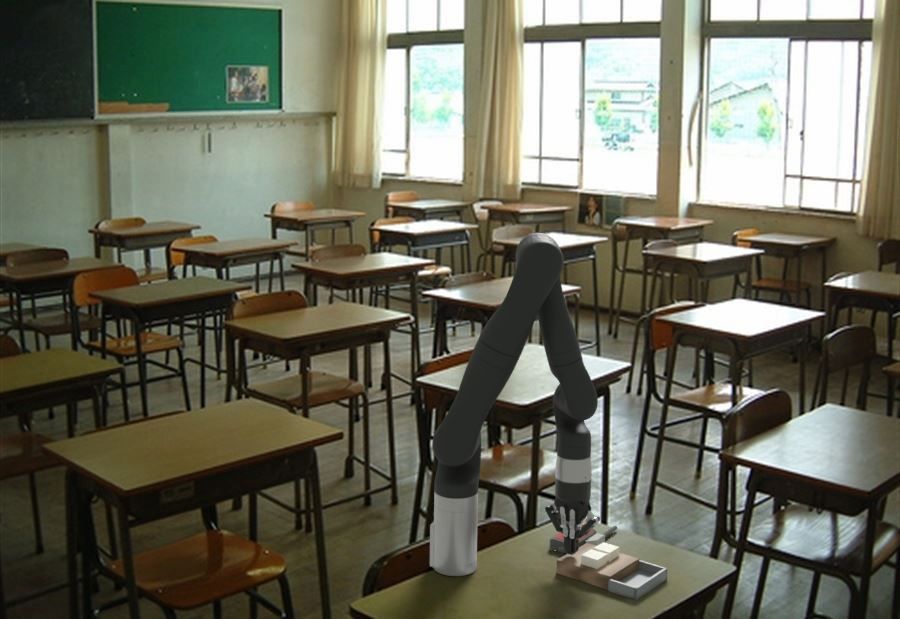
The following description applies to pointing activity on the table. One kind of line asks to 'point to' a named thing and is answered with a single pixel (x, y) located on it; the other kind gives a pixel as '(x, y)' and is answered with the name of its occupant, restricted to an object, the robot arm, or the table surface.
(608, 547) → the tile
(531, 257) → the robot arm
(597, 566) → the tile
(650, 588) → the box
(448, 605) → the table surface
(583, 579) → the tan flat block
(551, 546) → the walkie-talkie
